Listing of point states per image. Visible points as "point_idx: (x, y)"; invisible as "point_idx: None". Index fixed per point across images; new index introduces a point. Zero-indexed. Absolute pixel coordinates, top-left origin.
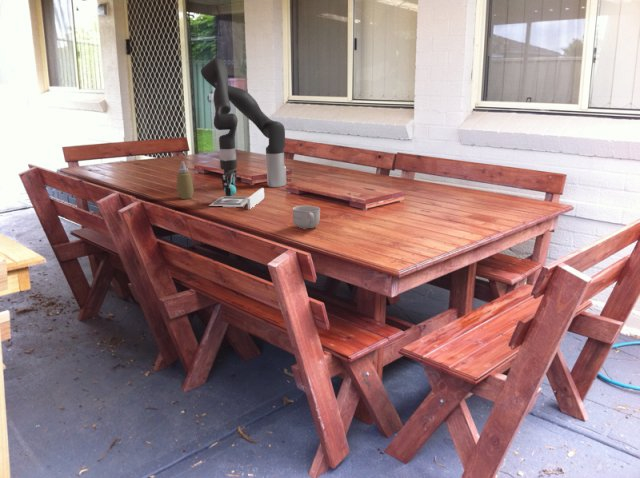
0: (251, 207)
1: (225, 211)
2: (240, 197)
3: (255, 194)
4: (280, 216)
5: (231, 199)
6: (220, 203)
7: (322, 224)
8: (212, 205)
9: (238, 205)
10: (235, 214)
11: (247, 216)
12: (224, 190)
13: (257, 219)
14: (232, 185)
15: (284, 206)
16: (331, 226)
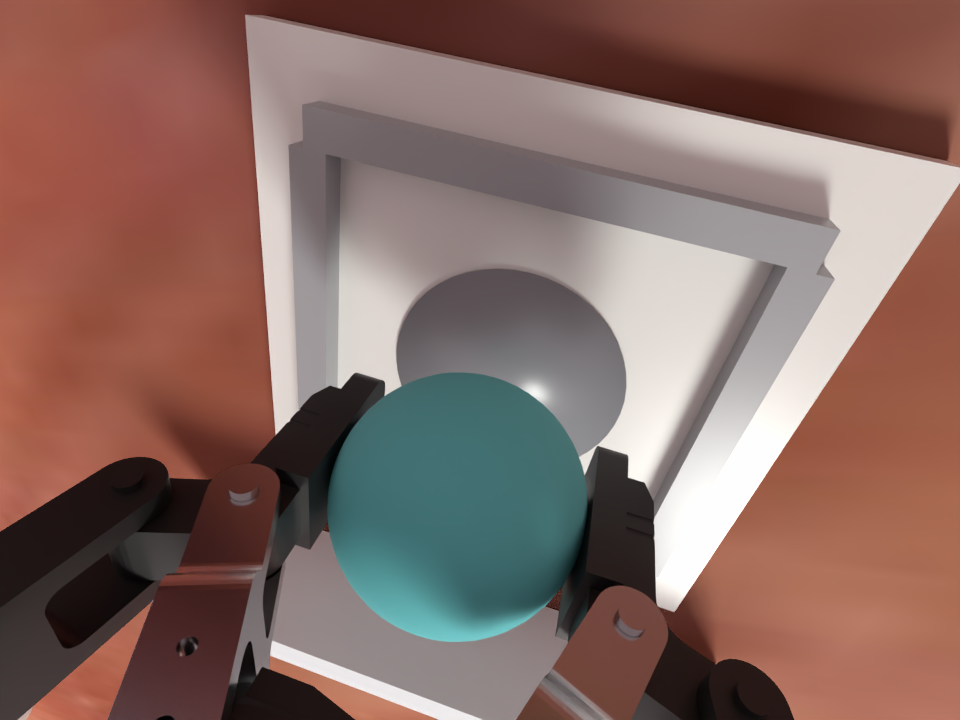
0: None
1: (108, 304)
2: (656, 506)
3: (352, 684)
4: (122, 627)
5: (643, 377)
6: (297, 237)
7: (69, 706)
8: (253, 92)
9: None
10: (51, 397)
11: (41, 475)
12: (389, 406)
13: (8, 520)
14: (400, 627)
15: (363, 700)
16: (58, 716)
